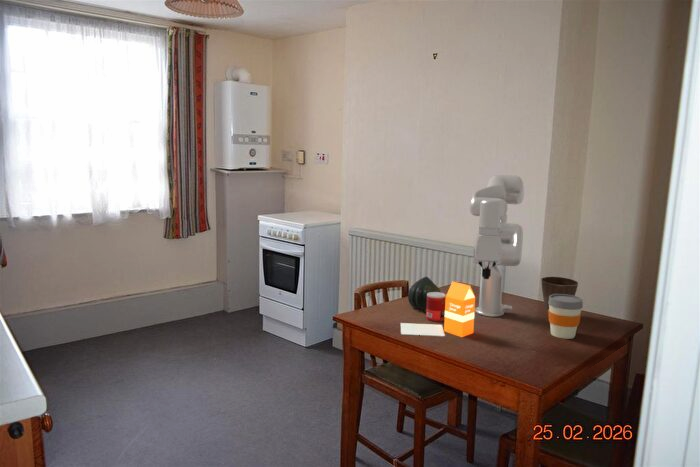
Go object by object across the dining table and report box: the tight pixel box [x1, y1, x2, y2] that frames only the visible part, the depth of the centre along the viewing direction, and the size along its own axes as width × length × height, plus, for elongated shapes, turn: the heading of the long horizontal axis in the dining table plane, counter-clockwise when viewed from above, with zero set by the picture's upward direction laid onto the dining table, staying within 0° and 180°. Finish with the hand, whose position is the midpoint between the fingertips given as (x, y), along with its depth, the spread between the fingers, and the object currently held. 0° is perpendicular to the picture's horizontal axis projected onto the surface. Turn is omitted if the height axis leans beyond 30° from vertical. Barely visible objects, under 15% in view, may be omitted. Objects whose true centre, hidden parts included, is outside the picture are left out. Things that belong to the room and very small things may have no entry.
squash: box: [407, 276, 442, 312], centre depth 235 cm, size 14×15×15 cm
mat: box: [400, 322, 446, 337], centre depth 207 cm, size 17×13×1 cm
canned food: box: [425, 291, 447, 323], centre depth 220 cm, size 8×8×11 cm
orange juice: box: [443, 280, 476, 338], centre depth 204 cm, size 8×9×20 cm
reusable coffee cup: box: [548, 294, 584, 340], centre depth 203 cm, size 13×13×15 cm
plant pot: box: [541, 276, 579, 317], centre depth 226 cm, size 15×15×16 cm
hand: (485, 278), depth 200 cm, fingers closed
